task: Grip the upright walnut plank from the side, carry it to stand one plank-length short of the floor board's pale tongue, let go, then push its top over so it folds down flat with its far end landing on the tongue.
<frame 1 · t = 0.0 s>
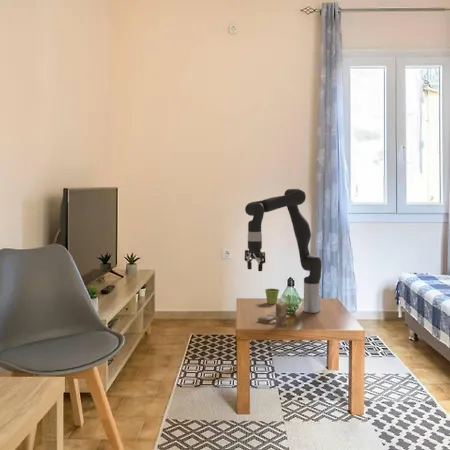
hand: (254, 270, 253), 29 cm above the table, tool pointing down, fingers open, 8 cm apart
plank: (281, 325, 252), on the table
floor board: (272, 319, 265), on the table
plant pot: (272, 303, 304), on the table
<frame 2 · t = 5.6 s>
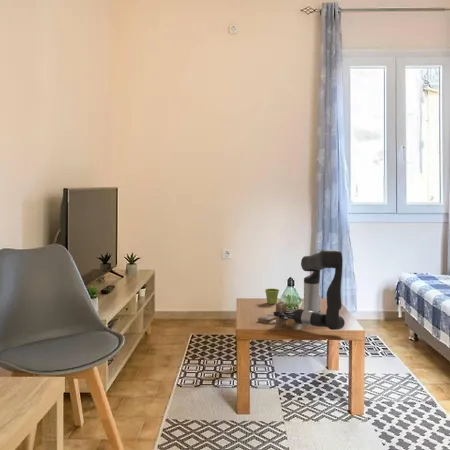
hand: (276, 312, 253), 7 cm above the table, tool horizontal, fingers closed on plank, 5 cm apart
plank: (281, 325, 252), on the table, touching gripper
everything else where it was.
when the fingers open (7 cm above the table, at t = 10.2 s): plank stays where it is, on the table.
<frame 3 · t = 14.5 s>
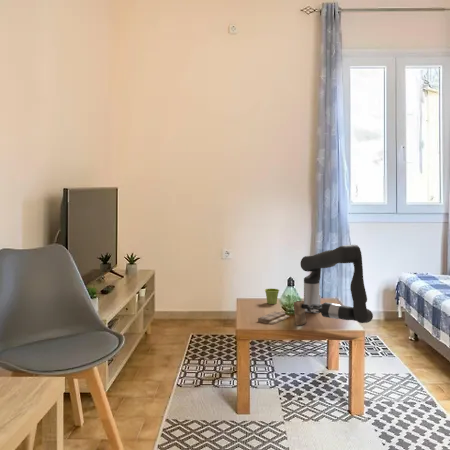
hand: (302, 306, 253), 10 cm above the table, tool horizontal, fingers closed
plank: (301, 323, 254), on the table, tilted 7°
everything else where it was.
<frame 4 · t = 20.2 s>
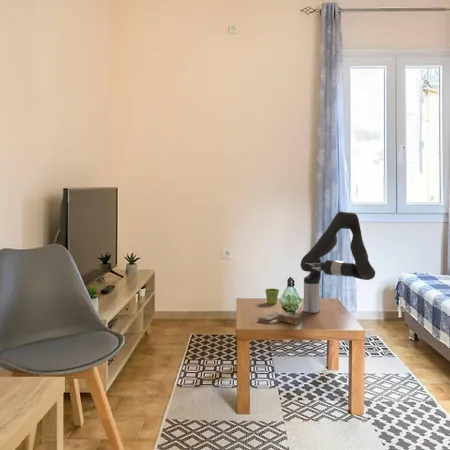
hand: (304, 265, 252), 32 cm above the table, tool horizontal, fingers closed
plank: (298, 320, 255), point 2 cm above the table, tilted 86°, touching floor board
everything else where it was.
at the end: plank tilted 86°; plank inside the target area (1.9 cm from its centre), point 1.7 cm above the table; the gripper is holding nothing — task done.
